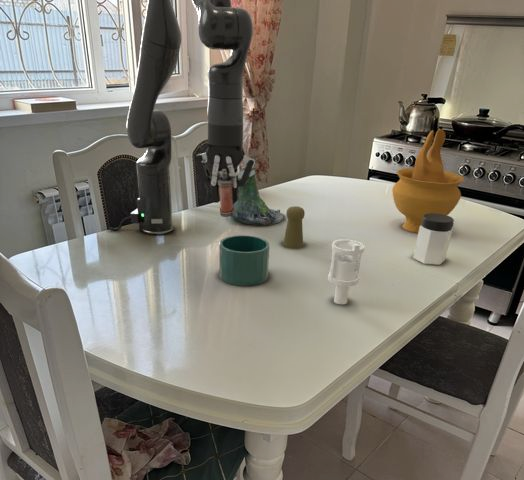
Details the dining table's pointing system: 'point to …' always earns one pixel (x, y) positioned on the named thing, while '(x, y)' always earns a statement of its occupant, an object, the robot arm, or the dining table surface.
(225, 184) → the lighter
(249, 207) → the tree stump
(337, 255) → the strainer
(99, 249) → the dining table surface
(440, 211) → the decorative bowl
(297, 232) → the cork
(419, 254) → the jar
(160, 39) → the robot arm
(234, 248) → the ceramic cup
